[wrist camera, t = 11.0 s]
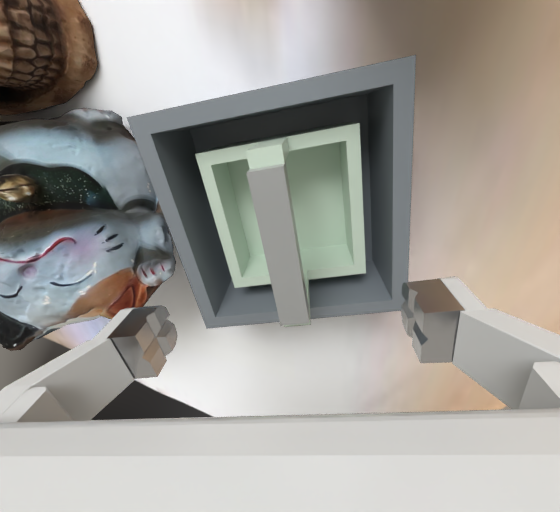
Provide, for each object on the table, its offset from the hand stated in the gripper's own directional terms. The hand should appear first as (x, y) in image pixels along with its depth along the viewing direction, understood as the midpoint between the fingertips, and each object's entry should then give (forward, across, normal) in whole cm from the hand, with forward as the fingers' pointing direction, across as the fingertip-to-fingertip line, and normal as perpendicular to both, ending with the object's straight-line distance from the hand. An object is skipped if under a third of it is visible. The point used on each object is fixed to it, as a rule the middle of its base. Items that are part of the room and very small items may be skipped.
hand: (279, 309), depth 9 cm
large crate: (+16, 0, 0) cm, 16 cm away
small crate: (+15, 0, 0) cm, 15 cm away
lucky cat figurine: (+16, +16, -2) cm, 23 cm away
